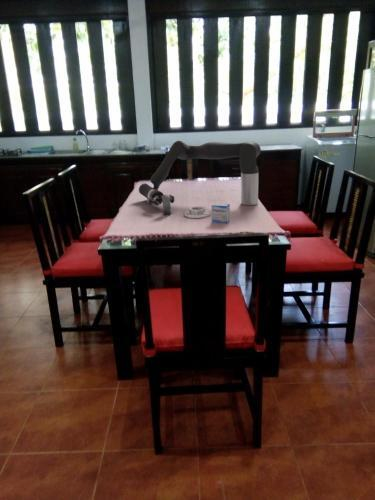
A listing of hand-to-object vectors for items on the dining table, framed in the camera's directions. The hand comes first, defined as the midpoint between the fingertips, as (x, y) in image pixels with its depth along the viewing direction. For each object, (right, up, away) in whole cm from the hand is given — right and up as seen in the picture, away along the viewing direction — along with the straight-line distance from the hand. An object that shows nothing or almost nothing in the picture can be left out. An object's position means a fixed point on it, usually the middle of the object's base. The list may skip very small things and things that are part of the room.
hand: (165, 202), depth 208 cm
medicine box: (+28, -12, -18) cm, 35 cm away
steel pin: (+1, -6, 0) cm, 7 cm away
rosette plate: (+17, -7, -4) cm, 19 cm away
